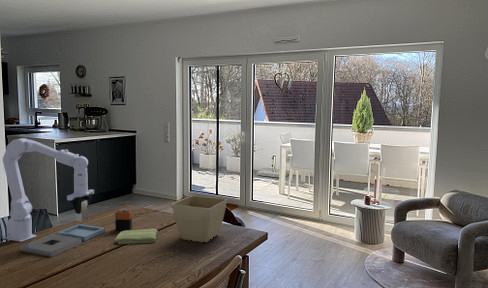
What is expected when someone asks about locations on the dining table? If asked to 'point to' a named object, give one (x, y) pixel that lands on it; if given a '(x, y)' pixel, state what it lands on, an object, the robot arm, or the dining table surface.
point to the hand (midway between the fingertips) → (81, 212)
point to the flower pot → (199, 217)
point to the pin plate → (45, 247)
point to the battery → (123, 220)
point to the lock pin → (82, 212)
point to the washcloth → (137, 236)
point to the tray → (82, 232)
